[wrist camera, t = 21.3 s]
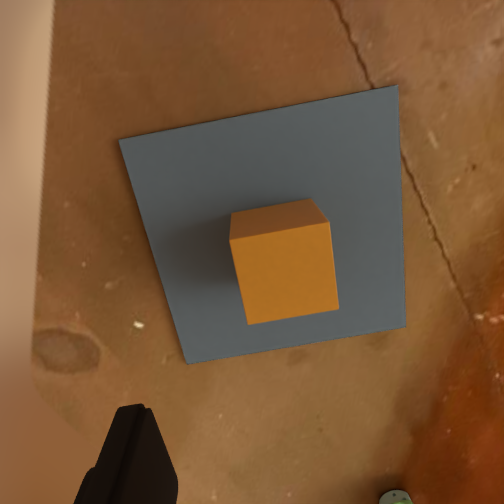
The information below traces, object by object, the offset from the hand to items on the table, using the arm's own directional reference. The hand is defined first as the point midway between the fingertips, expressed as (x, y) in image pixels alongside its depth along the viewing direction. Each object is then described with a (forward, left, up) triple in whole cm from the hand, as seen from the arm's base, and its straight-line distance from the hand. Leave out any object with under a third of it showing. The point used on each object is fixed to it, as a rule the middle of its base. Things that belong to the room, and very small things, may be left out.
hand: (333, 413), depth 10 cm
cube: (0, -1, -15) cm, 15 cm away
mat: (0, -1, -15) cm, 15 cm away
